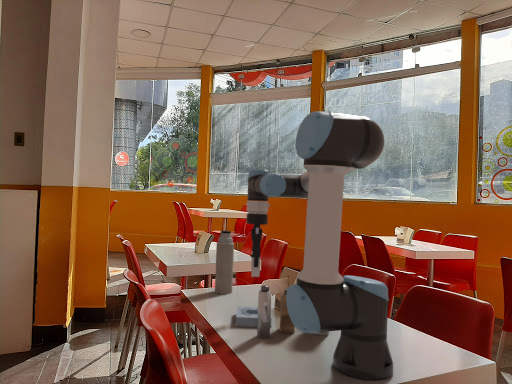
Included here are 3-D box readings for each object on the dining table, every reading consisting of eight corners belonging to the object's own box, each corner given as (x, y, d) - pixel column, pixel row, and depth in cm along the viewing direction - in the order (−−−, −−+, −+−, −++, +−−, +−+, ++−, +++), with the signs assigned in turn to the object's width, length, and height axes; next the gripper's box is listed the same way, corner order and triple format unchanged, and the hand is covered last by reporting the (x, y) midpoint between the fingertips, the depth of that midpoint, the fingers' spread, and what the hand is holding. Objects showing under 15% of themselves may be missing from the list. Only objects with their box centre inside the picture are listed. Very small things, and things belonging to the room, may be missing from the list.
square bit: (294, 333, 130) (295, 290, 130) (280, 332, 130) (282, 290, 130) (292, 328, 134) (294, 288, 135) (279, 328, 134) (281, 287, 135)
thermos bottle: (227, 289, 189) (229, 230, 190) (235, 293, 182) (237, 231, 183) (211, 290, 185) (214, 230, 186) (219, 294, 178) (221, 231, 179)
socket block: (271, 327, 135) (271, 318, 135) (235, 326, 135) (235, 317, 135) (268, 315, 149) (269, 307, 149) (236, 314, 149) (237, 306, 149)
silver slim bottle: (270, 338, 124) (271, 287, 124) (257, 338, 124) (259, 287, 124) (269, 334, 128) (271, 285, 128) (256, 333, 128) (258, 284, 128)
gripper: (269, 214, 130) (267, 280, 130) (266, 212, 155) (264, 267, 155) (246, 213, 130) (244, 279, 130) (246, 211, 155) (244, 266, 155)
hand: (255, 273), depth 142 cm, fingers open, 13 cm apart
